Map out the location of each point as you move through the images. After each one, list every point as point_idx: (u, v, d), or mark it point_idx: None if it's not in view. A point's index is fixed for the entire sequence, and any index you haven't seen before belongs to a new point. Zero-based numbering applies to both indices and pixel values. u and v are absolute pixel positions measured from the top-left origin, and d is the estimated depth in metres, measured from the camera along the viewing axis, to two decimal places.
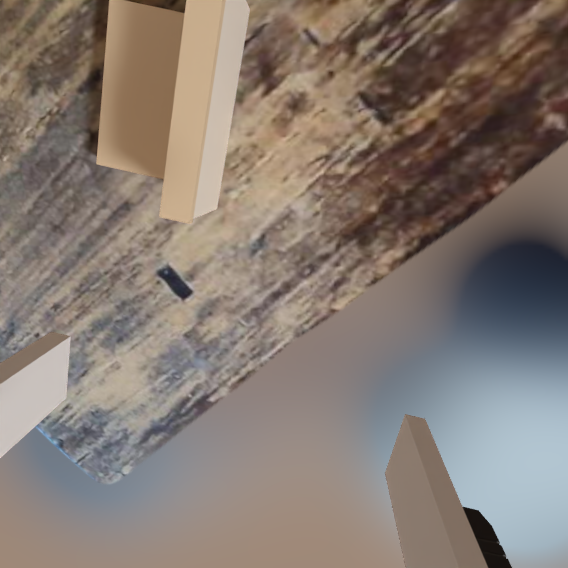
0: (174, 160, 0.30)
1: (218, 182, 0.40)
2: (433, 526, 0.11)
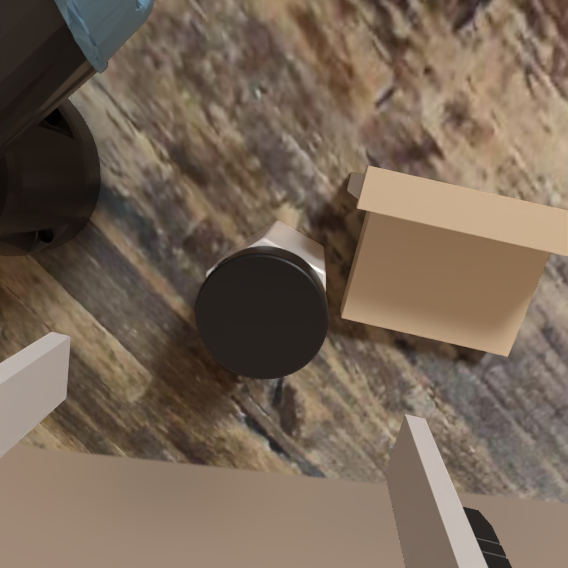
0: None
1: None
2: (433, 526, 0.11)
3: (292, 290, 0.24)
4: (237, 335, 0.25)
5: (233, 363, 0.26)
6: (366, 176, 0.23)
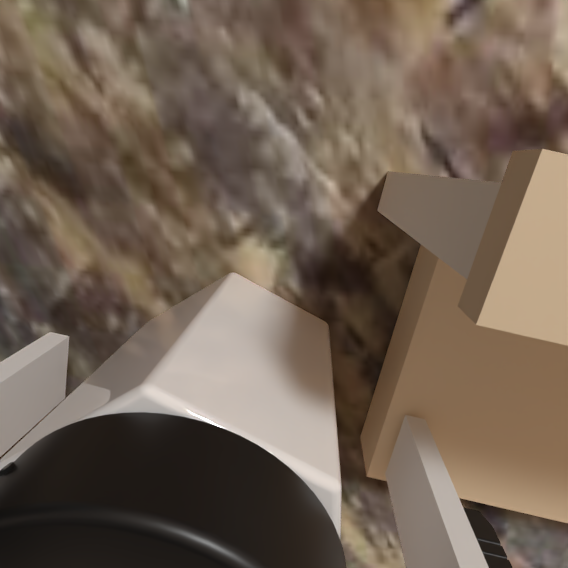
0: None
1: None
2: (434, 527, 0.11)
3: None
4: None
5: None
6: (527, 196, 0.05)
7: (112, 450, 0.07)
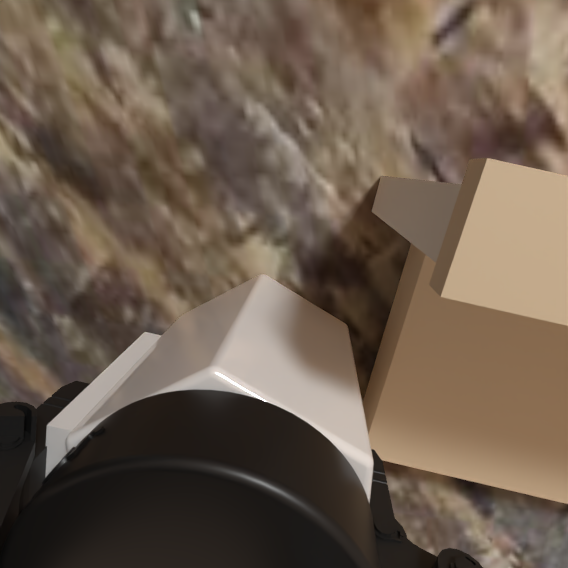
0: None
1: None
2: None
3: None
4: None
5: None
6: (477, 194, 0.07)
7: (193, 417, 0.09)
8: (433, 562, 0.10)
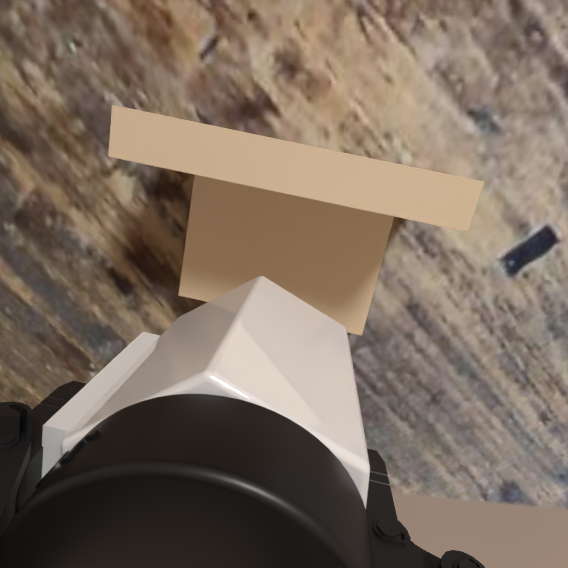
0: (382, 200, 0.20)
1: None
2: None
3: None
4: None
5: None
6: (112, 118, 0.20)
7: (188, 423, 0.08)
8: (437, 564, 0.10)
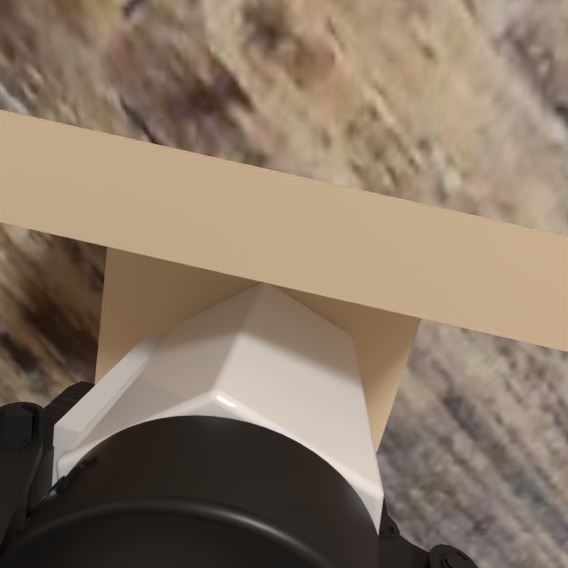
0: (448, 297, 0.09)
1: None
2: None
3: None
4: None
5: None
6: None
7: (193, 450, 0.08)
8: (425, 558, 0.10)
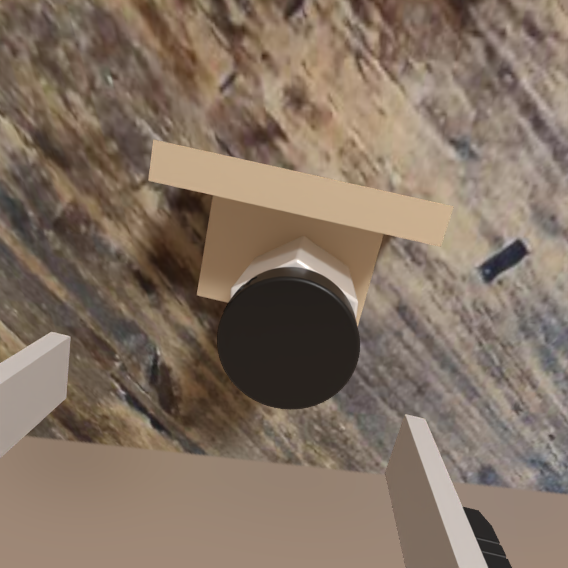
0: (371, 220, 0.25)
1: None
2: (433, 526, 0.11)
3: (325, 319, 0.23)
4: (260, 360, 0.24)
5: (252, 389, 0.24)
6: (153, 150, 0.25)
7: (293, 271, 0.23)
8: None
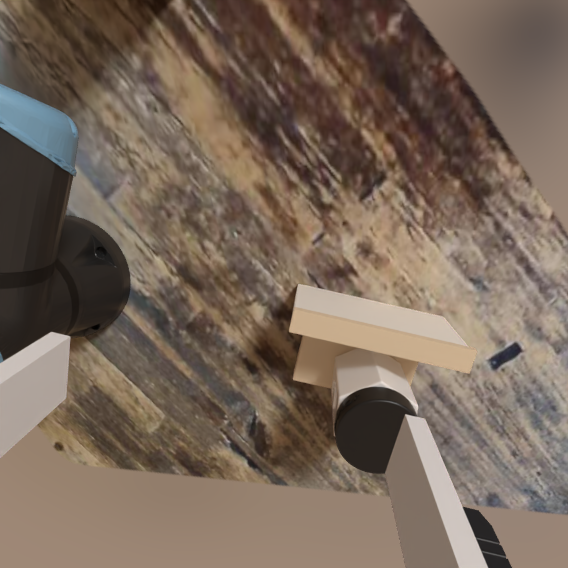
0: (427, 357, 0.40)
1: (424, 315, 0.49)
2: (433, 526, 0.11)
3: None
4: (362, 445, 0.39)
5: (356, 462, 0.40)
6: (293, 314, 0.40)
7: (382, 392, 0.39)
8: None
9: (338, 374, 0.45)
